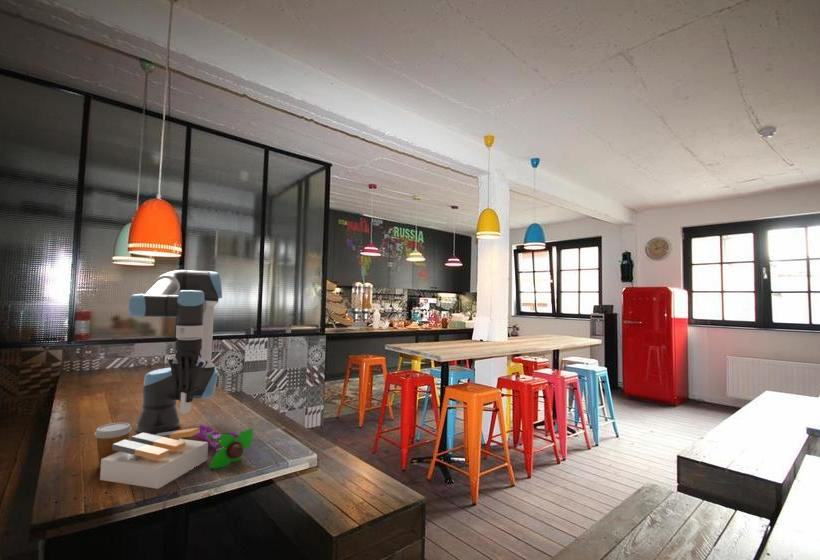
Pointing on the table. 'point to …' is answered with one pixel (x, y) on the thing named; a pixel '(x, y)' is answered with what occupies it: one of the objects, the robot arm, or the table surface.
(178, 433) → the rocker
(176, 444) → the rocker mid
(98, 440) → the disposable coffee cup
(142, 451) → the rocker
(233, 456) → the potted plant
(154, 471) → the switch box
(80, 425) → the table surface
